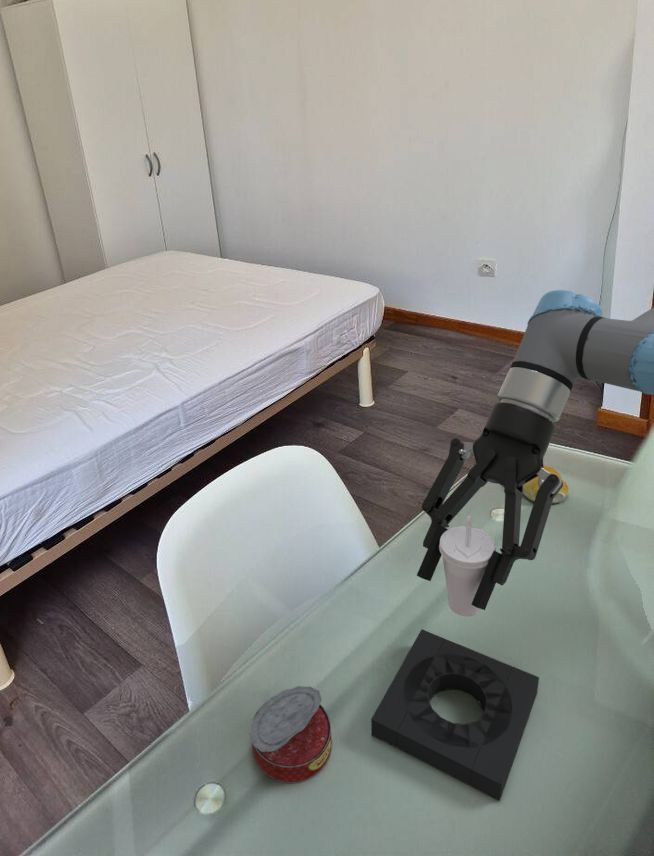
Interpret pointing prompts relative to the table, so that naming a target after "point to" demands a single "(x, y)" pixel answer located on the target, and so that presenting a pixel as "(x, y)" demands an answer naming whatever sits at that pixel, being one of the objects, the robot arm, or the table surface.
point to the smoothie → (465, 564)
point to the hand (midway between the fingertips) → (450, 592)
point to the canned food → (292, 735)
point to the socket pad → (452, 742)
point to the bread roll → (532, 487)
